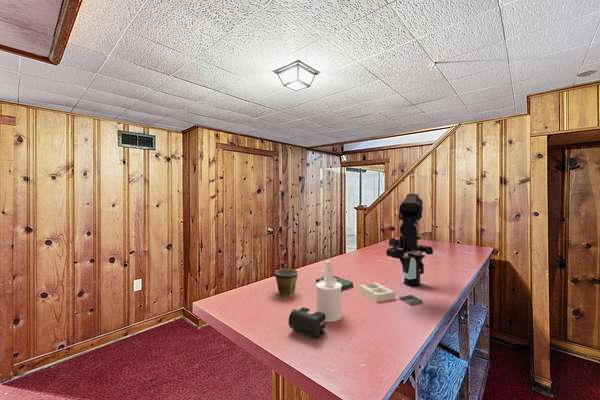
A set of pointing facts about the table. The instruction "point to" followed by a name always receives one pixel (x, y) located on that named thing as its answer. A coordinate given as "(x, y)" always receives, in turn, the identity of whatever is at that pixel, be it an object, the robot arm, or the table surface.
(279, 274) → the olive plant pot
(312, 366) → the table surface
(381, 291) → the port block
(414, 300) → the holster
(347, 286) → the disk drive
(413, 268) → the plug
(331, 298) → the white pump bottle
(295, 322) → the end cap
